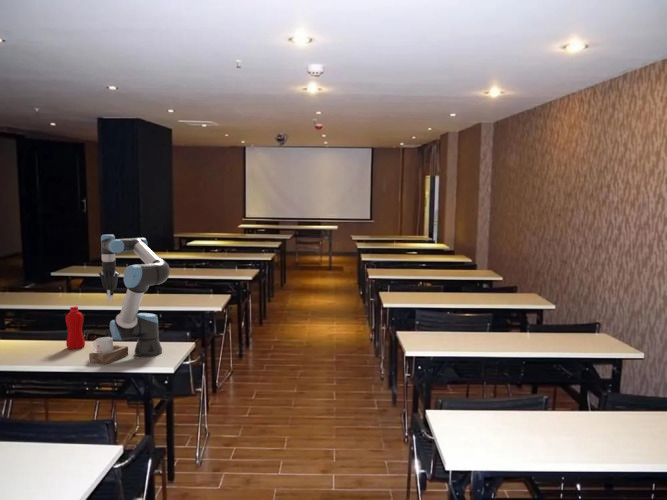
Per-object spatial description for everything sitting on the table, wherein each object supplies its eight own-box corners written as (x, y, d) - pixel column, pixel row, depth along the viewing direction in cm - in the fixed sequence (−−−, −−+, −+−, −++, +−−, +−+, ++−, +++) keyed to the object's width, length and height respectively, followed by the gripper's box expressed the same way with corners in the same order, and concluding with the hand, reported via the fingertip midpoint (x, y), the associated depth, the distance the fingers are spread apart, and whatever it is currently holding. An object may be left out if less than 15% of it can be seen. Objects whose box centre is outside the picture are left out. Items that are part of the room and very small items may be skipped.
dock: (128, 354, 336) (127, 346, 335) (106, 364, 318) (105, 355, 317) (112, 353, 339) (111, 344, 338) (89, 362, 321) (89, 353, 320)
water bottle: (79, 344, 358) (77, 304, 355) (86, 347, 350) (84, 306, 348) (63, 347, 352) (61, 306, 349) (70, 350, 344) (68, 309, 341)
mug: (117, 357, 331) (116, 337, 330) (105, 361, 323) (104, 341, 322) (100, 354, 336) (99, 335, 335) (88, 358, 328) (88, 339, 326)
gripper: (122, 260, 343) (123, 300, 345) (103, 259, 346) (105, 298, 349) (113, 262, 335) (115, 302, 338) (95, 261, 339) (96, 301, 342)
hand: (110, 300), depth 344 cm, fingers closed
